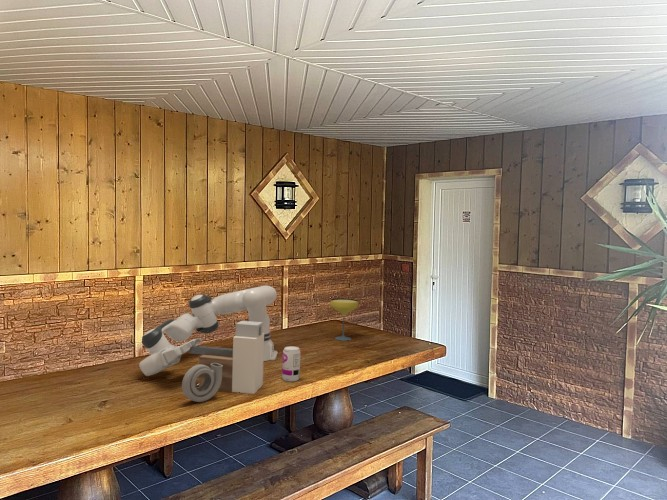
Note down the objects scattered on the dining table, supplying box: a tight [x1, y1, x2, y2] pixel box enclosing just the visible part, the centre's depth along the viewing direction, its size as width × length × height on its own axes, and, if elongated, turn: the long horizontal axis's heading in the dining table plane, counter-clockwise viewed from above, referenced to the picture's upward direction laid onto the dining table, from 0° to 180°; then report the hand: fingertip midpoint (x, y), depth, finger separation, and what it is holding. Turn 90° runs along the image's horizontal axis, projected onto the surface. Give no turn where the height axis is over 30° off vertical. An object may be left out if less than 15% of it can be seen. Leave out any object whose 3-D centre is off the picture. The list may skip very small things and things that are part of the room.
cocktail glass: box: [329, 297, 359, 342], centre depth 326 cm, size 18×18×25 cm
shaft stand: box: [232, 320, 264, 395], centre depth 224 cm, size 12×10×29 cm
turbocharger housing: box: [181, 363, 223, 403], centre depth 208 cm, size 17×6×15 cm, turn 137°
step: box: [198, 354, 233, 393], centre depth 227 cm, size 12×16×14 cm
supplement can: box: [281, 345, 301, 383], centre depth 239 cm, size 8×8×15 cm
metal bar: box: [189, 345, 233, 357], centre depth 227 cm, size 3×20×3 cm, turn 80°
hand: (196, 342), depth 228 cm, fingers open, 8 cm apart
